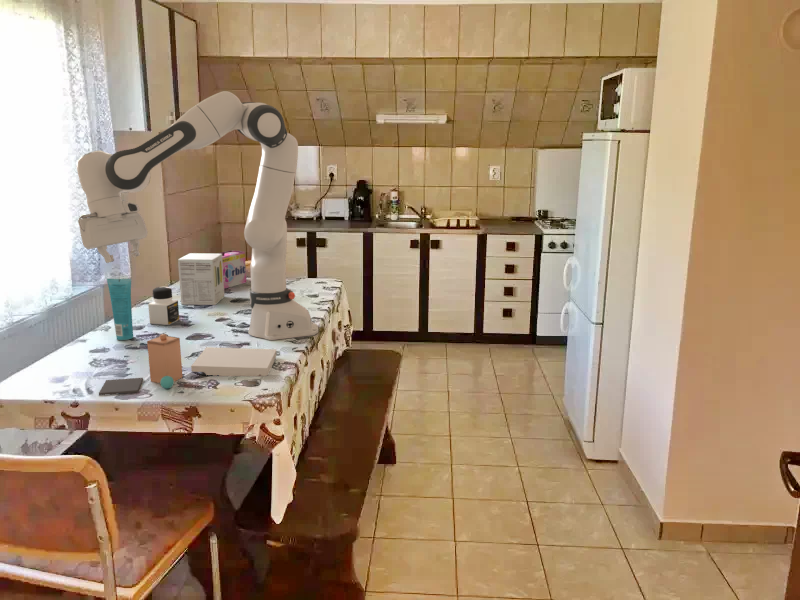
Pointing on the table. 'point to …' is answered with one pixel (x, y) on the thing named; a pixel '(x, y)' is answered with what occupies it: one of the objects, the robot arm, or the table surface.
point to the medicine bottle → (163, 307)
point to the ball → (167, 382)
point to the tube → (121, 307)
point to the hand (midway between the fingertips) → (123, 259)
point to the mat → (121, 386)
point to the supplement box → (201, 278)
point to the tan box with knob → (164, 358)
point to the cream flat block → (235, 361)
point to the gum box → (233, 268)
